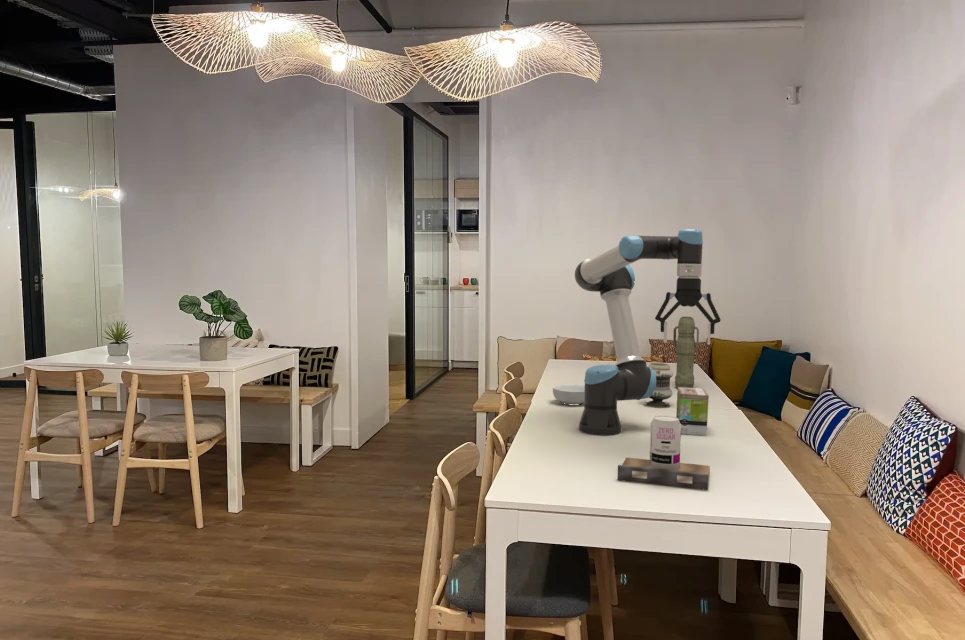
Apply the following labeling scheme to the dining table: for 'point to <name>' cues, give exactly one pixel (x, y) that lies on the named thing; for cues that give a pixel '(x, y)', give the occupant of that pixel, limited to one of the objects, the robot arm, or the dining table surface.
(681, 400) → the tea box
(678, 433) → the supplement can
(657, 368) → the apothecary jar
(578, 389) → the cereal bowl
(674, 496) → the dining table surface
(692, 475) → the shelf
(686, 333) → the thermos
